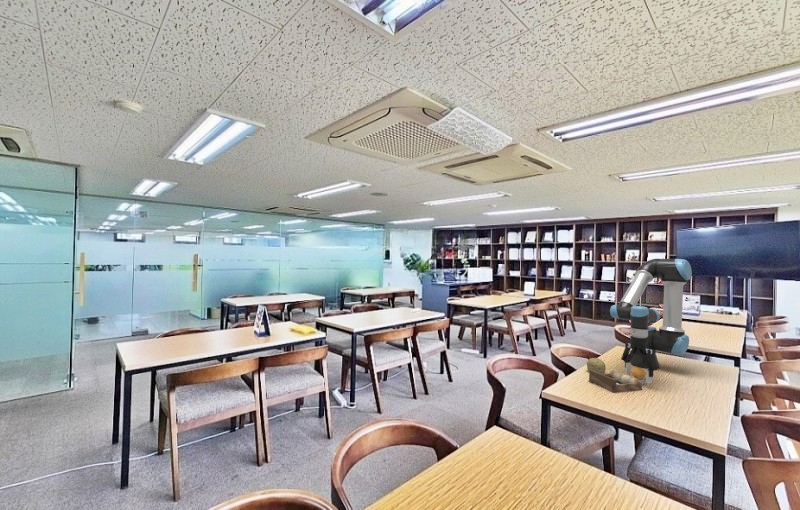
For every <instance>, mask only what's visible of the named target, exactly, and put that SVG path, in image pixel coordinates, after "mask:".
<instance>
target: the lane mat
mask: <svg viewBox="0 0 800 510" xmlns="http://www.w3.org/2000/svg"><path fill="white" fill-rule="evenodd" d="M588 382H590V381H589V380H588ZM590 383H592V384H593V385H596V384H595V383H593V382H590ZM617 384H623V383H620V382H618V381H616V385H617ZM597 386H598V387H601V388H602V386H599V385H597ZM603 389H604V390H606V389H605V388H604V387H603ZM607 391H609V392H612V393H613V391H611V390H609V389H608V390H607ZM630 392H635V390H634V391H632V390H631V391H630ZM619 393H624V391H623V392H621V391H620V392H619Z"/></svg>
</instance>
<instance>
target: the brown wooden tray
mask: <svg viewBox="0 0 800 510" xmlns="http://www.w3.org/2000/svg"><path fill="white" fill-rule="evenodd" d="M588 373H589V374H588V377H589V378H588V382H589V381H590V383H591V382H593V383H592V384H594V383H595V384H594V385H596V386H598V385H599V386H598V387H600V386H602V387H601V388H603V387H604V388H605V389H604V388H603V389H604V390H607V391H609V390H611V391H613V392H612V393H613V394H614V393H616V394H617V393H624V392H625V393H627V392H635V391H643V384H642V383H641V382H640V380H639V379H637V378H634V377H633V375H632V376H631V375H627V374H626V373H624V372H621V371H618V370H616V369H612V370H611V371H610V372H609V373H604V374H600V373H598V372H595V371H593V370H589V371H588ZM616 381H618V382H620V383H623V384H617V385H616ZM608 389H609V390H608ZM631 390H632V391H631ZM634 390H635V391H634ZM611 391H610V392H611ZM620 391H621V392H620ZM623 391H624V392H623Z"/></svg>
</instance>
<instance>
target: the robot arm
mask: <svg viewBox="0 0 800 510" xmlns="http://www.w3.org/2000/svg"><path fill="white" fill-rule="evenodd" d="M692 271H693V270H692V267H691V264H690V262H689V261H688V260H686V259H683V258H652V259H649V260H647V261H645V262H644V263H642V264H641V265H640V266H639V267H637V268H636V270H635V272H634V277H633V279H632V281H631V282H630V284H629V286H628V287H627V289H626V291H625V293H624V295H623V296H622V298H621V300H620V302H619V303H618V304H613V305H611V306H610V308H609V314H610V316H611V317H612V318H613V319H618V320H624V321H630V337H629V338H630V339H629V343H628V342H627V343H625V344H624V350H623V351H622V352H623V353H622V355H621V357H620V358H621V359H620V360H621V361H623V362H624V368H625V374H627V375H629V376H631V375H632V366H635V367H640V368H642V369H646V376H645V377H646V380H645V381H646V384H652V383H653V377H654V371H658V370H659V368H660V363H659V362H660V361H659V359H658V356H657V351H658V352H662V353H669V354H672V355H679V356H681V355H684V354H685V353H686V352H687V351H688V348H689V345H690V338H689V337H690V336H689V335H687V334H686V331H685V330H684V329H683V328H682V325H683V323H682V322H683V321H682V320H683V303H684V302H683V301H684V300H683V297H684V296H683V295H684V286H685V285H687V283H688V281H689V280H691V279H692V275H693V273H692ZM654 279H660V282H661V283H662V284H663V285H664V286H663V304H662V305H663V309H662V325H661V326H660V327H659V329H657V327H655V326H649V324H654V323H657V322H658V321H659V320H660V317H661V314H660V313H659V311H658V310H656V309H654V308H648V307H647V306H642V305H641V306H640V305H637V304H638V302H639V301H640V299H641V297H642V296H643V294H644V292H645V290H646V288H647V286H648V284H649V283H651V282H653V280H654Z"/></svg>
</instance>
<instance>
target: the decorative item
mask: <svg viewBox="0 0 800 510" xmlns="http://www.w3.org/2000/svg"><path fill="white" fill-rule="evenodd" d="M586 367H587V371H588V372H589V370H593V371H595V372H598V373H600V374H606V370H607V368H606V364H605V362H604V361H603V360H602V359H600V358H599V357H591V358H589V359H587V361H586Z"/></svg>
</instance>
